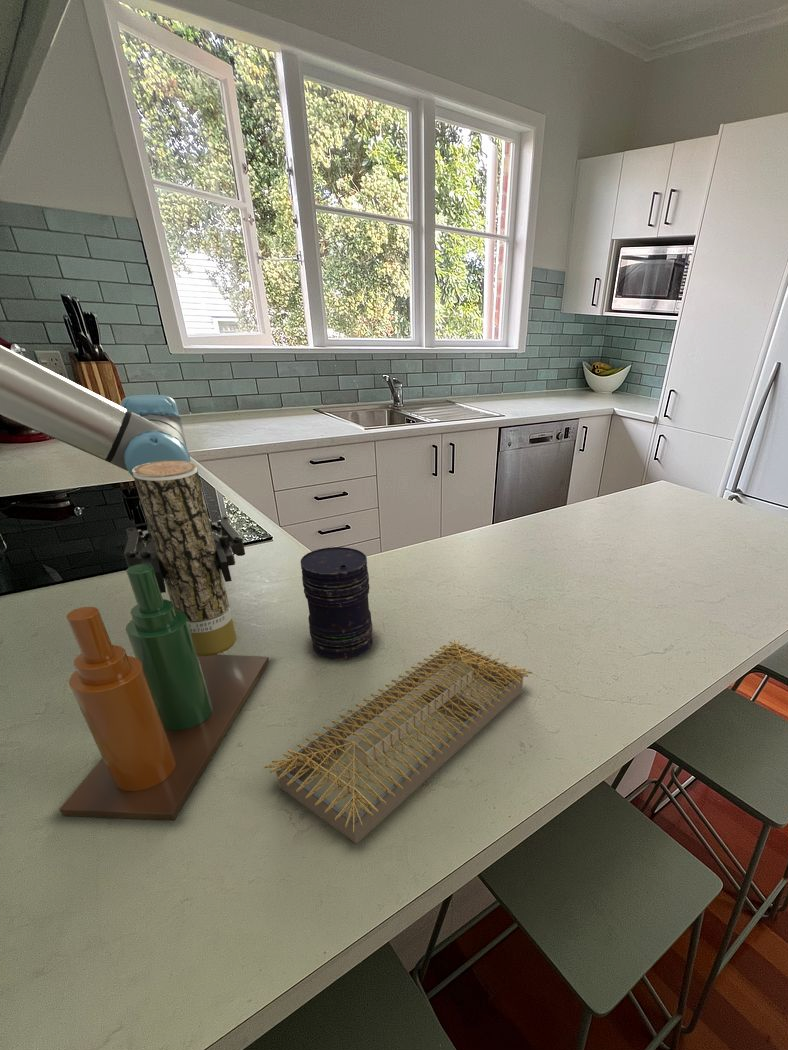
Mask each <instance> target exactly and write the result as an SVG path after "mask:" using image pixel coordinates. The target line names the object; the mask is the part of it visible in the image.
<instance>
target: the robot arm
mask: <svg viewBox="0 0 788 1050" xmlns="http://www.w3.org/2000/svg"><path fill="white" fill-rule="evenodd" d="M0 415H1V416H3V417H6V418H7V419H10V420H12V421H14V422H17V423H18V424H21V425H23V426H26V427H28V428H30V429H32V430H35V431H37V432H39V433H42V434H44V435H46V436H48V437H50V438H52V439H55V440H58V441H60V442H62V443H64V444H66V445H69V446H71V447H73V448H76V449H78V450H80V451H82V452H85V453H86V454H89V455H92V456H94V457H95V458H98V459H100V460H103V461H105V462H108V463H110V464H111V465H113V466H116V467H118V468H120V469H122V470H124V471H127V472H128V473H129V474H130V476H131V477H132V478H133V479H134V477H133V472H132V469H133V468H135V467H137V466H139V465H142V464H146V463H151V462H158V461H187V462H191V455H190V452H189V449H188V447H187V443H186V438H185V434H184V428H183V425H182V418H181V415H180V413H179V410H178V406H177V403H176V401H175V400H174V398H172V397H170V396H168V395H162V394H138V395H137V394H136V395H129V396H126V397H124V398H123V399H121V402H120V404H118V403H116V402H114V401H112V400H110V399H108V398H106V397H104V396H102V395H100V394H98V393H97V392H94V391H92V390H90V389H88V388H86V387H84V386H82V385H81V384H78V383H77V382H74V381H73V380H70V379H69V378H67V377H65V376H63V375H60V374H59V373H57V372H55V371H53V370H51V369H49V368H47V367H45V366H43V365H42V364H39V363H37V362H35V361H34V360H31V359H29V358H28V357H26V356H24V355H22V354H19V353H18V352H16V351H14V350H12V349H10V348H7V347H6V346H4V345H2V344H0ZM209 521H210V525H211V530H212V534H213V538H214V542H215V547H216V551H217V556H218V560H219V564H220V568H221V572H222V577H223V581H224V583H227V582H232V576H231V572H230V567H231V566H235V565H236V559H235V556H237V557H244V556H245V555H246V551H245V545H244V541H243V537H242V536H241V534H240V533H239V532H238V531H237V529H236V528H235V527H234V526H233V525H232V521H231V516H222V517H221V518H220V519H217V520H216V521H215V522H213V521H212V520H211V519H210V518H209ZM125 532H126V536H127V541H126V545H125V548H124V551H123V555H124V558H125V562H126V565H127V569H128V568H129V567H131V566H134V565H138V564H150V565H152V566H153V568H154V572H155V575H156V578H157V581H158V585H159V588H160V591H161V594H163V593H164V594H165V593H167V588H166V584H165V580H164V577H163V573H162V570H161V567H160V563H159V560H158V557H157V553H156V550H155V547H154V543H153V540H152V537H151V533H150V530H149V527H148V526H147V529H146V530H143V529H137V528H135V527H128V528H126V529H125ZM149 540H150V541H149ZM147 542H148V543H147ZM229 566H230V567H229Z"/></svg>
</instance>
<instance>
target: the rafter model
mask: <svg viewBox="0 0 788 1050" xmlns="http://www.w3.org/2000/svg"><path fill="white" fill-rule="evenodd" d="M448 643H449V645H448V644H443V645H442V646H440V647H439V649H440V650H434V653H436V654H432V653H431V654H430V653H429V657H430V658H427V657H424V658H423V660H424V661H425V662H421V661H420V662H419V661H418V662H417V664H418V665H419V666H411V669H413V670H415V671H413V670H404V672H405V673H406V674H408V675H401V674H398V677H399V678H400V679H401V680H398V679H391V682H392V683H395V684H384V687H386V688H388V689H381V688H378V689H377V692H380V694H375V693H370V696H371V697H372V698H374V699H367V698H363V699H362V701H364V702H365V703H366V704H365V705H363V704H358V703H356V704H355V706H356V707H357V708H359V709H357V710H354V709H347V712H348V713H351V714H350V715H349V716H348V715H342V714H339V717H340V718H342V719H343V720H341V721H336V720H331V723H332V724H334V726H333V727H329V726H325V725H323V726H322V728H323V729H324V730H325V731H326V732H324V733H319V732H316V731H314V732H313V734H314V735H315V736H316V737H317V738H315V739H311V738H308V737H305V741H307V742H309V743H308V744H306V745H304V744H303V745H302V744H299V743H296V746H297V747H298V748H300V750H298V751H294V750H291V749H287V750H286V751H287V753H289V754H287V753H284V752H283V753H282V755H283V756H284V757H285V758H286V759H275V760H271V763H272V764H266V765H264V766H263V769H271V770H269V773H270V774H271V773H276V777H277V781H278V786H279V789H281V790H282V791H283V792H285V793H286V794H288V795H289V796H290V797H292V798H294V799H295V801H297V802H298V803H300V804H301V805H303V806H304V807H305V808H307V809H308V810H309V811H311V812H312V813H313V814H315V815H317V816H318V817H320V818H321V819H322V820H323V821H325V822H326V823H328V825H330V826H332V827H333V828H334V829H336V830H337V831H338V832H339V833H341V834H342V835H344V836H345V837H346V838H347V839H349V840H351V841H352V842H353V843H354V844H358V843H359V842H361V840H363V839H364V838H365V837H366V836H367V835H368V834H369V833H370V832H371V831H372V830H374V829H375V828H376V827H377V826H378V825H379V824H380V823H381V822H382V821H383V820H384V819H385V818H386V817H388V816H389V815H390V814H391V813H392V812H393V811H394V810H395V809H396V808H397V807H398V806H400V805H401V804H402V803H403V802H404V801H405V800H407V798H408V797H410V795H412V793H413V792H415V791H416V790H417V789H418V788H419V787H420V786H421V785H422V784H423V783H425V781H427V780H428V779H429V778H430V777H431V776H432V775H433V774H434V773H436V772H437V770H438V769H439V768H441V767H442V766H443V765H444V764H445V763H446V762H447V761H448V760H449V759H451V758H452V757H453V756H454V755H456V753H457V752H458V751H459V750H460V749H461V748H463V747H464V746H465V745H466V744H467V743H468V742H469V741H470V740H471V739H472V738H473V737H474V736H475V735H477V734H478V733H479V732H480V731H481V730H482V729H483V728H484V727H485V726H487V724H489V722H491V721H492V720H493V719H494V718H495V717H496V716H497V715H499V713H500V712H502V711H503V709H505V708H506V707H507V706H508V705H509V704H510V703H512V702H513V700H514V699H516V698H517V697H518V696H519V695H520V694H521V693H522V692H523V684H524V677H526V678H529V674H533V671H530V670H526V668H517V667H518V664H515V665H512V666H507V665H508V664H509V661H505V662H501V663H500V662H498V661H500V660H501V657H498V658H497V657H496V658H494V659H491V657H492V653H491V654H486V655H482V654H483V653H484V650H481V651H476V652H475V651H474V650H476V647H475V646H474V647H470V648H467V646H468V643H465V644H460V643H461V640H459V641H458V642H456V640H455V638H453V642H452V641H451V640H450V641H448ZM450 676H451V677H450ZM452 677H454V678H456V679H458V680H456V679H454V678H452ZM484 677H485V678H487V679H485V678H484ZM474 678H476V679H474ZM489 679H490V680H492V681H490V680H489ZM444 680H445V681H446V682H445V681H444ZM478 681H482V682H481V684H480V683H479V682H478ZM447 682H448V683H447ZM484 682H486V683H487V684H488V685H490V686H487V685H484ZM449 683H450V684H449ZM451 684H452V685H451ZM474 685H476V689H475V688H473V686H474ZM478 686H479V687H481V688H482V689H483V690H484V691H482V690H478V688H479V687H478ZM500 689H501V690H500ZM467 690H470V694H469V693H467V692H466V691H467ZM473 691H474V692H475V694H477V695H478V696H477V695H473V694H472V693H473ZM492 693H494V694H496V695H493V694H492ZM487 694H488V695H487ZM467 696H468V697H467ZM484 696H485V697H487V698H488V699H490V700H488V699H486V698H485V697H484ZM426 699H427V700H428V701H429V702H427V700H426ZM479 702H480V703H479ZM481 703H483V704H484V705H483V704H481ZM418 704H419V705H420V706H423V708H421V707H420V706H419V705H418ZM409 708H410V709H411V710H414V711H416V713H413V712H412V711H411V710H410V709H409ZM440 708H441V709H440ZM444 710H445V711H444ZM440 711H444V712H445V714H444V713H441V712H440ZM447 712H449V713H450V714H451V715H452V716H453V717H452V716H449V715H447ZM400 713H402V714H404V715H406V716H407V717H409V718H408V719H406V718H405V717H404V716H403V715H401V714H400ZM433 713H434V714H433ZM435 713H436V714H435ZM456 715H457V716H456ZM434 716H438V720H437V719H436V718H434ZM458 716H459V717H461V718H462V719H465V720H466V721H464V722H463V721H462V720H461V719H460V718H458ZM440 717H441V718H442V719H444V720H445V721H446V722H444V721H441V720H440V719H441V718H440ZM392 718H394V719H396V720H398V721H399V722H401V724H400V725H398V724H397V723H396V722H395V721H394V720H393V719H392ZM427 718H429V719H427ZM449 720H450V721H452V722H453V723H455V724H457V725H458V727H456V726H454V724H453V723H451V722H450V721H449ZM426 722H431V725H429V724H427V723H426ZM434 723H435V724H436V726H438V728H437V727H434ZM384 724H387V725H389V726H390V727H393V728H395V729H394V730H393V731H390V730H389V729H388V728H387V727H386V726H385V725H384ZM419 724H422V725H419ZM418 725H419V726H418ZM441 725H442V726H441ZM422 727H424V731H422V730H420V729H419V728H422ZM444 727H446V728H448V729H449V730H451V731H452V733H449V732H448V731H447V730H446V729H444ZM413 729H414V731H412V730H413ZM426 729H428V731H429V732H431V733H432V734H431V733H428V732H427V730H426ZM376 730H380V731H382V732H384V734H387V735H386V736H385V737H384V738H383V737H381V735H379V733H377V732H376ZM434 731H436V732H437V733H439V734H441V735H443V736H445V739H444V740H443V738H441V737H440V736H439V735H437V733H435V732H434ZM415 733H416V737H415V736H413V735H412V734H415ZM370 735H371V736H372V737H373V738H375V739H377V740H379V741H378V742H377V743H376V744H373V742H371V741H370V739H368V737H369V736H370ZM419 735H420V736H421V737H423V739H424V740H423V739H420V738H419ZM404 736H407V737H405V738H404ZM426 736H427V737H429V739H432V740H433V741H434V740H435V742H437V743H439V744H437V745H435V744H434V743H432V741H430V740H429V739H428V738H427V737H426ZM404 740H409V743H407V742H405V741H404ZM412 741H413V742H414V743H415V745H417V746H414V745H412ZM360 742H364V743H365V744H367V745H369V747H371V748H369V749H368V750H366V751H365V750H364V749H363V748H362V747H361V746H360V745H359V743H360ZM397 742H399V743H398V744H396V743H397ZM418 742H419V743H421V744H422V745H424V746H426V747H428V748H430V749H432V750H431V751H429V752H428V751H427V750H426V749H424V747H422V746H421V745H420V744H419V743H418ZM397 746H401V750H400V749H399V748H397ZM404 748H405V749H406V751H409V753H408V752H405V751H404ZM409 748H411V749H413V750H414V751H416V752H418V753H420V754H421V755H423V756H424V757H423V758H422V759H420V758H419V757H418V756H417V755H416V754H415V753H414V752H413V751H412V750H411V749H409ZM389 749H391V750H389ZM338 750H339V751H341V752H342V755H341V756H339V757H338ZM334 752H335V753H334ZM391 752H393V756H392V755H390V754H388V753H391ZM400 753H401V754H403V755H404V756H405V757H408V758H409V759H411V760H413V761H415V762H416V764H415V765H414V766H413V765H412V764H410V763H409V761H407V760H406V759H405V758H404V757H403V756H402V755H401V754H400ZM381 755H382V757H380V756H381ZM396 755H397V756H398V757H400V758H401V759H402V760H401V759H399V758H396ZM344 756H346V757H347V758H348V760H349V761H350V763H349V764H347V763H345V762H344V761H342V760H341V759H342V758H343V757H344ZM351 758H352V760H351ZM329 759H330V760H332V761H333V762H335V763H331V764H330V762H329ZM383 759H384V760H385V761H384V762H382V761H380V760H383ZM391 759H392V760H394V761H395V762H397V763H398V764H399V765H400V764H401V765H402V766H403V767H406V768H407V769H409V770H408V771H407V772H406V773H405V772H403V771H402V770H401V769H400V768H399V767H398V765H396V764H395V763H394V762H392V760H391ZM355 761H356V766H355V763H354V762H355ZM387 761H388V762H389V763H391V765H392V766H391V765H388V763H387ZM372 762H373V764H371V763H372ZM378 763H379V764H378ZM322 764H324V765H325V766H327V767H328V768H330V769H329V770H328V769H327V768H325V767H324V766H322ZM359 764H360V765H361V766H362V767H363V768H364V769H365V770H362V771H360V768H359ZM380 764H381V765H382V766H384V767H385V768H387V769H388V770H390V771H392V772H394V773H395V774H397V775H399V776H401V777H400V778H399V779H397V780H396V779H395V778H393V776H391V775H390V774H389V772H387V771H386V769H384V768H383V767H382V766H381V765H380ZM336 765H338V766H339V768H340V769H341V771H342V772H340V771H338V770H337V769H336V768H335V767H336ZM351 765H352V766H353V767H352V766H351ZM373 766H376V769H374V768H372V767H373ZM272 768H273V769H272ZM379 768H380V769H381V770H382V772H384V773H385V774H384V773H382V772H380V771H379ZM312 769H313V771H312V772H311V773H310V774H309V776H308V777H307V778H305V780H304V781H302V780H300V779H299V778H301V777H302V776H304V775H305V774H306V773H308V772H309V771H310V770H312ZM322 770H323V771H322ZM332 770H333V771H334V772H336V773H338V774H339V775H336V774H335V773H333V772H332ZM346 771H347V773H346ZM371 771H372V772H373V773H372V772H371ZM315 772H317V774H315ZM362 773H367V775H368V777H367V776H365V775H364V774H362ZM374 773H376V774H377V775H378V776H380V777H382V778H384V779H385V780H386V781H388V782H390V783H391V784H392V785H391V786H390V787H387V786H386V785H385V784H384V783H383V782H382V781H381V780H380V779H379V778H378V777H376V775H374ZM314 774H315V775H314ZM351 774H353V776H352V777H351ZM320 775H321V776H322V778H321V779H320V780H319V781H318V782H317V783H316V784H315V786H314V787H313V788H312V787H310V786H309V784H310V783H311V782H312V781H314V780H316V779H317V778H318V777H319V776H320ZM359 775H360V776H359ZM370 775H371V776H372V777H374V779H376V780H377V781H376V780H374V779H371V776H370ZM341 777H343V778H345V779H346V780H347V781H349V782H348V783H347V782H346V781H345V780H343V779H342V778H341ZM362 777H363V778H365V779H366V780H368V782H371V783H372V784H374V785H375V786H377V787H378V788H380V789H381V790H383V791H384V792H383V793H382V794H380V795H379V794H378V793H377V792H376V791H375V790H374V789H373V788H372V787H371V786H370V785H369V784H368V783H367V782H366V781H364V779H363V778H362ZM355 778H356V782H355ZM325 779H327V780H325ZM323 780H325V781H323ZM359 780H360V781H361V782H362V783H363V784H365V786H363V785H361V784H359ZM329 782H331V785H330V786H329V787H328V788H327V789H326V791H325V792H324V793H323V794H320V793H318V791H319V790H320V789H322V788H323V787H324V786H325V785H326V784H328V783H329ZM351 783H352V784H353V785H356V786H357V787H358V788H360V789H362V790H363V791H365V792H366V793H367V794H369V795H370V796H372V797H373V798H375V800H373V801H372V802H371V801H369V800H368V799H367V797H365V796H364V795H363V794H362V793H361V792H360V791H359V790H358V789H357V788H356V786H352V785H350V784H351ZM334 785H336V786H335V787H334ZM366 786H367V787H366ZM332 787H333V788H332ZM339 788H340V789H342V790H341V791H340V792H339V794H338V795H336V797H335V799H334V800H333V801H332V802H331V801H330V800H329V799H327V798H328V797H329V796H331V794H332V793H334V792H335V791H336V790H338V789H339ZM344 791H345V792H346V793H344ZM370 791H371V792H370ZM343 793H344V794H343ZM348 795H351V796H352V797H351V798H350V799H349V801H348V802H347V803H346V804H345V806H343V808H342V809H341V808H340V807H338V806H337V804H338V803H340V802H342V801H343V800H344V799H345V798H346V797H347V796H348ZM338 799H339V800H338ZM365 805H366V806H367V807H366V806H365ZM357 807H358V808H360V809H361V810H362V811H361V812H359V811H358V809H357ZM349 810H350V811H349ZM347 811H349V813H347Z"/></svg>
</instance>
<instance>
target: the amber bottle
mask: <svg viewBox="0 0 788 1050" xmlns="http://www.w3.org/2000/svg"><path fill="white" fill-rule="evenodd" d="M65 617H66V620H67V623H68V624H69V627H70V630H71V632H72V634H73V636H74V639H75V641H76V644H77V646H78V648H79V650H80V653H79V654H78V655H77V656H76V657H75V658H74V660H73V665H74V668H75V671H73V673H72V674H71V676H70V677H69V680H68V685H69V687H70V689H71V691H72V693H73V696H74V699H75V700H76V702H77V705H78V707H79V710H80V711H81V714H82V716H83V718H84V720H85V722H86V724H87V727H88V729H89V731H90V733H91V736H92V738H93V740H94V743H95V744H96V747H97V749H98V751H99V753H100V755H101V759H102V758H103V760H104V762H105V764H106V767H107V769H108V771H109V773H110V775H111V778H112V780H113V782H114V784H115V786H116V787H117V788H119V789H121V790H124V791H140V790H145V789H148V788H151V787H153V786H156V785H157V784H159V783H161V782H162V781H164V780H165V779H166V778H168V777H169V776H170V775H171V773H172V772H173V771H174V769H175V766H176V759H175V756H174V753H173V750H172V747H171V744H170V742H169V739H168V736H167V733H166V730H165V727H164V725H163V722H162V719H161V716H160V713H159V710H158V708H157V705H156V702H155V699H154V696H153V693H152V691H151V688H150V685H149V682H148V679H147V676H146V674H145V671H144V668H143V665H142V663H141V661H140V660H139V659H137V658H136V657H135V656H131V655H128V654H127V651H126V649H125V648H124V647H123V646H121V645H118V644H112V642H111V639H110V636H109V633H108V631H107V628H106V625H105V623H104V621H103V618H102V615H101V612H100V610H99V608H97V607H95V606H82V607H78V608H76V609H72V610H71V611H69V612H68V613H66V616H65Z"/></svg>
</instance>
